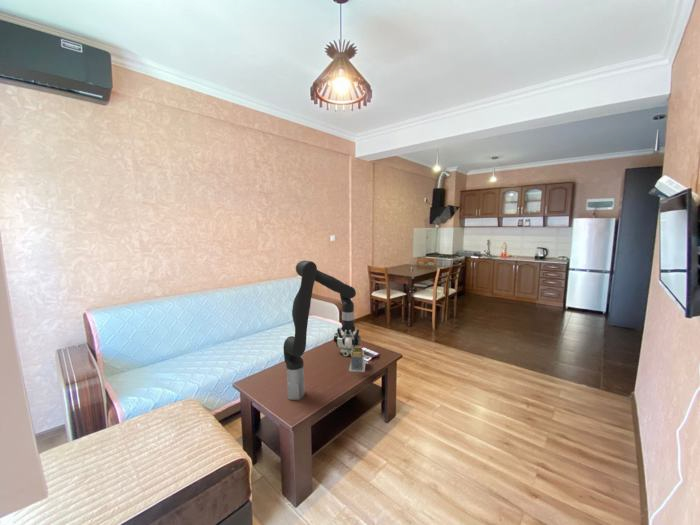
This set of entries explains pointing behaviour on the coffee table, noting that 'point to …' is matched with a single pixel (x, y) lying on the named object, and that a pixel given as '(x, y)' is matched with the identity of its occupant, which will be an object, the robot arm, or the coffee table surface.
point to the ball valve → (344, 350)
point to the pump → (348, 341)
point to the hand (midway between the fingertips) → (348, 344)
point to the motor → (357, 360)
